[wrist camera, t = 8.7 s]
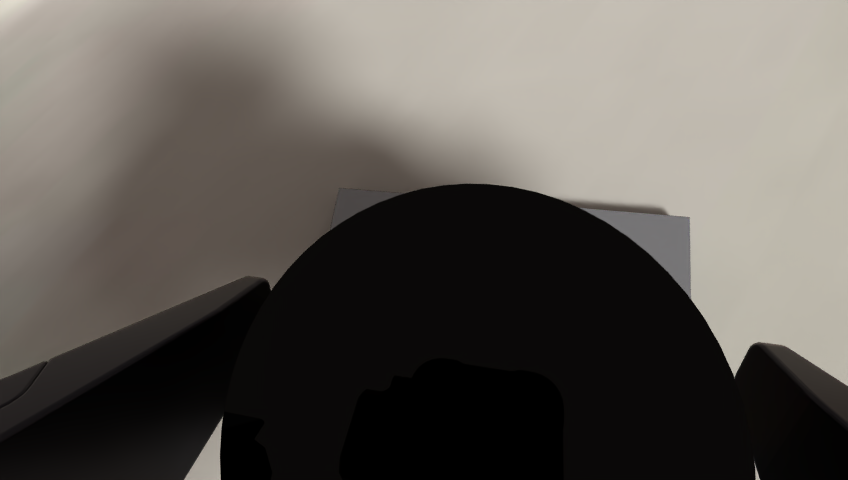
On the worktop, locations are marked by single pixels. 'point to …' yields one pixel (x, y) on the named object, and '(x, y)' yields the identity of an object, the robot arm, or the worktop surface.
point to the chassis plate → (649, 231)
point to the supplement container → (481, 354)
